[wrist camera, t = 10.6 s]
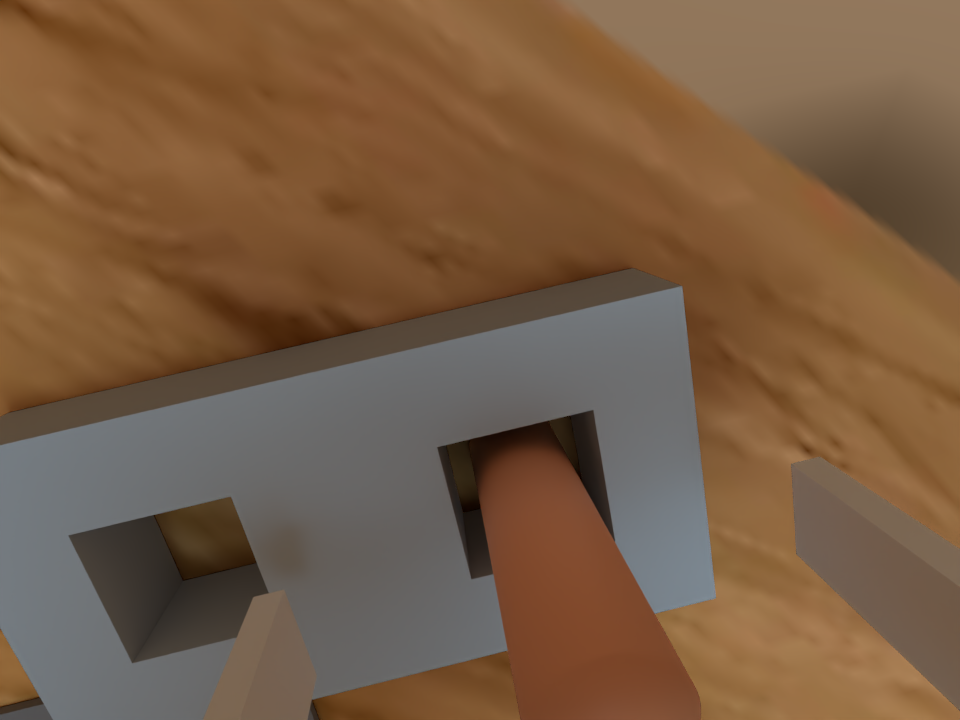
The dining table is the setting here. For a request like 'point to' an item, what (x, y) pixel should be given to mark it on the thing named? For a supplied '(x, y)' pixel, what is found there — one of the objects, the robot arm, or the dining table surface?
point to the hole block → (339, 495)
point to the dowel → (569, 592)
